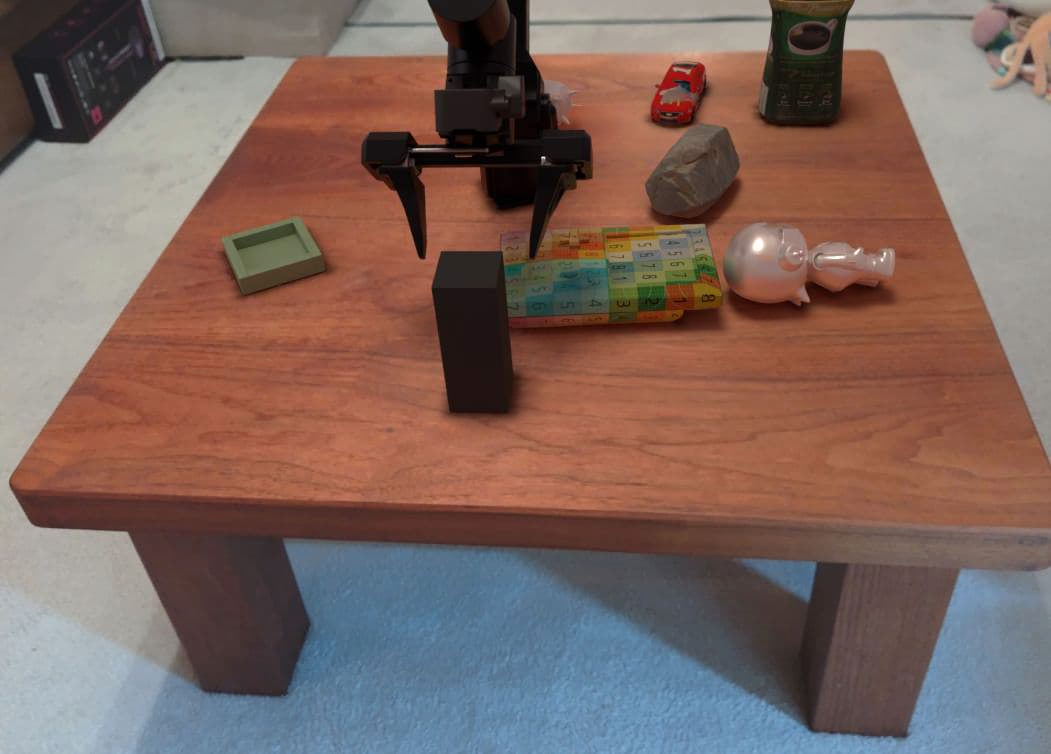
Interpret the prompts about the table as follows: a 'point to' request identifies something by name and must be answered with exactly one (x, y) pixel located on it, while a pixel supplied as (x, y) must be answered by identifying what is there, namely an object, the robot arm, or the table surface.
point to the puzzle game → (609, 275)
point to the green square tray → (272, 254)
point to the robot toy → (560, 98)
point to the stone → (694, 172)
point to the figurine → (797, 264)
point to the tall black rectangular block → (473, 330)
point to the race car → (679, 92)
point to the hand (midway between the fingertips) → (476, 258)
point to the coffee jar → (804, 61)
